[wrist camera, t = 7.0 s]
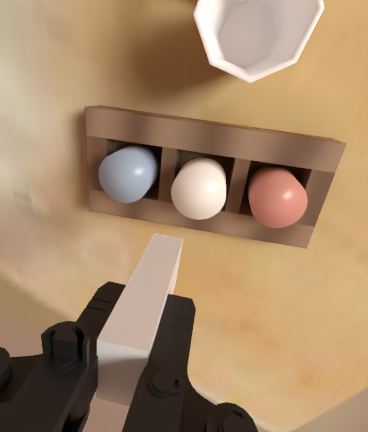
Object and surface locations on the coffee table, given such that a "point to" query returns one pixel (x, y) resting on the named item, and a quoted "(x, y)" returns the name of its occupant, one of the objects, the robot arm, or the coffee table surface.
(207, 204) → the cream rounded knob
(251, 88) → the coffee table surface
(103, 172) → the blue egg
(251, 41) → the cup
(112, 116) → the brown compartment tray
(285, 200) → the pink egg
